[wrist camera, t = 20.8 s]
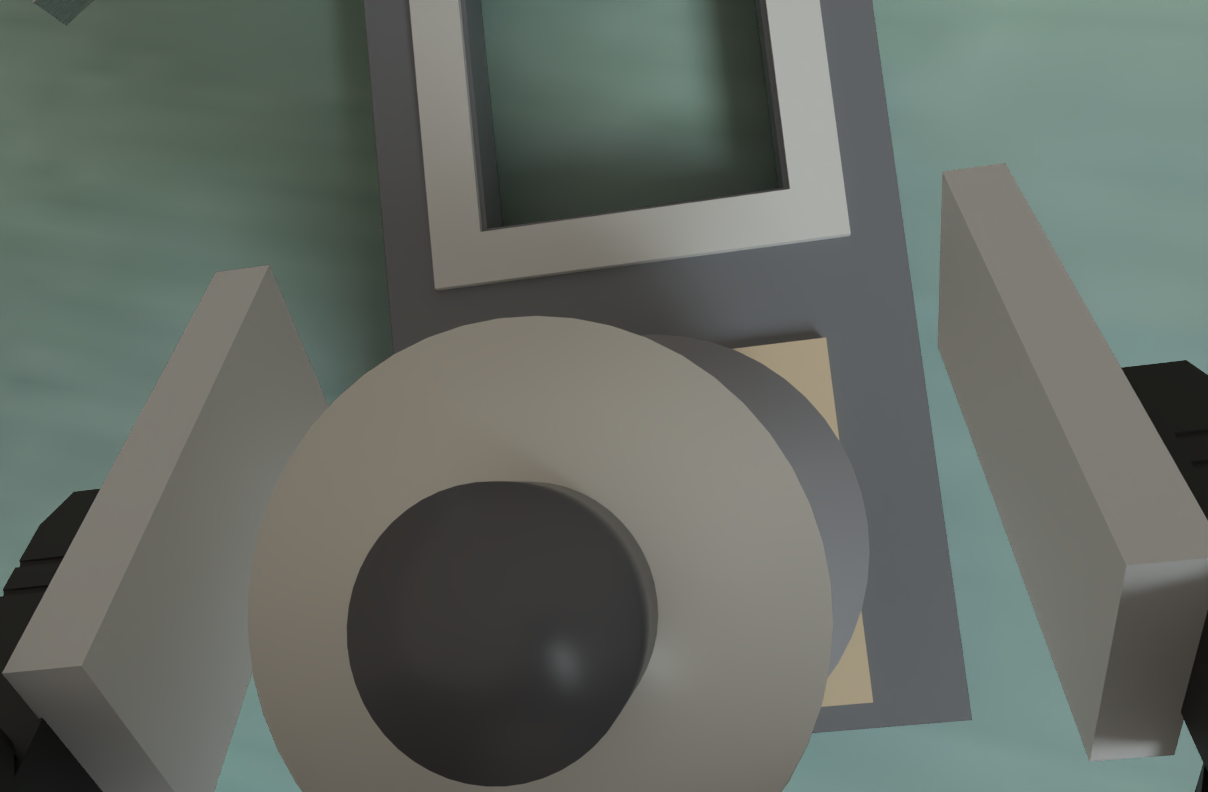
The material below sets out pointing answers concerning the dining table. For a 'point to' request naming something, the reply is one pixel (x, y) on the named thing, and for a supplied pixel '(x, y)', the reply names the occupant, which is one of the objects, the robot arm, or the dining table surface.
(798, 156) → the grey slotted tray
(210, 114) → the dining table surface
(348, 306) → the dining table surface
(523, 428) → the plug
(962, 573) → the dining table surface
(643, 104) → the dining table surface
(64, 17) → the clip
